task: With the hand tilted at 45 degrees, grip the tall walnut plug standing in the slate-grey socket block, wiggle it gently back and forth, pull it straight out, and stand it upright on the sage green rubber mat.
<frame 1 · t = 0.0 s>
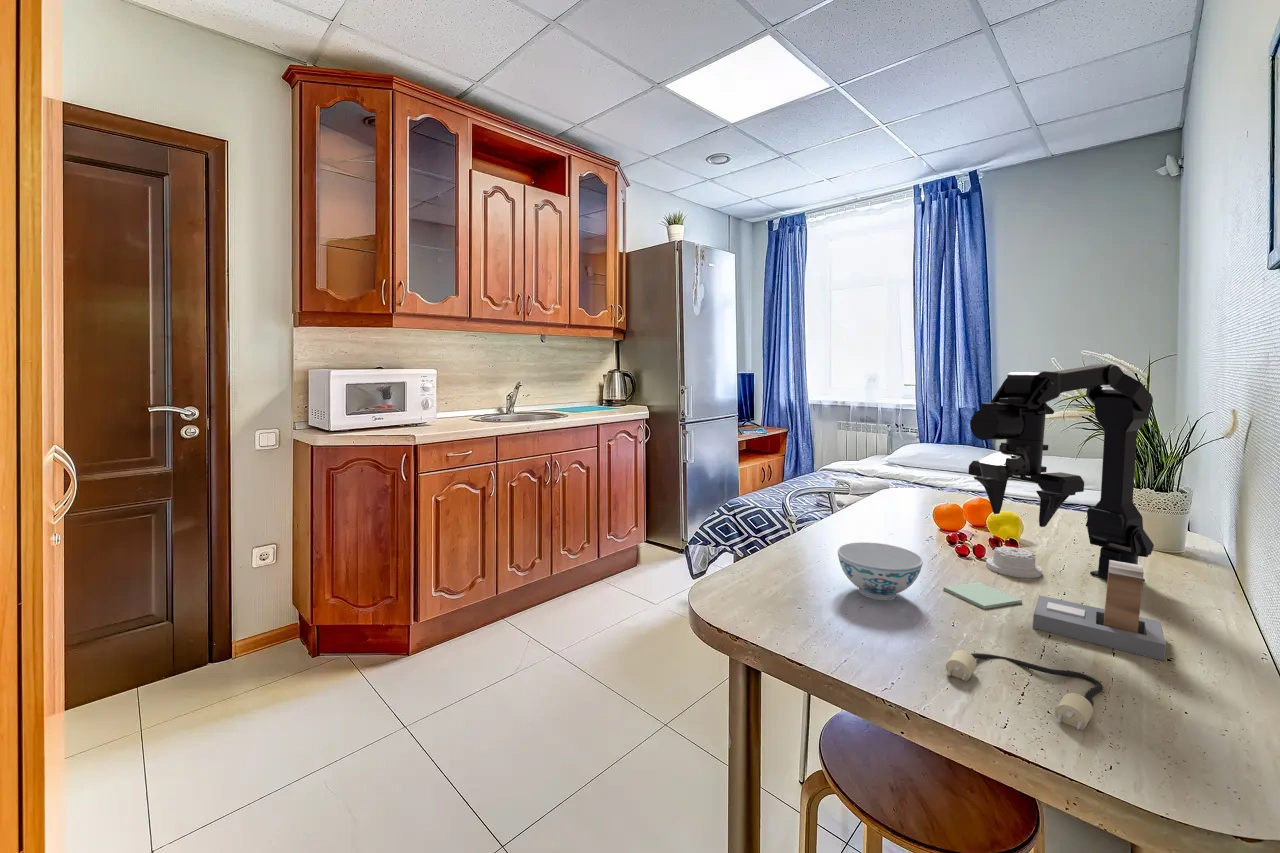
hand: (1018, 520, 104), 15 cm above the table, tool pointing down, fingers open, 9 cm apart
cable: (1021, 686, 76), on the table
socket block: (1094, 631, 90), on the table
plug: (1118, 637, 88), resting in socket block
chinaware: (877, 594, 106), on the table
mat: (981, 596, 104), on the table
mechanical component: (1013, 571, 118), on the table
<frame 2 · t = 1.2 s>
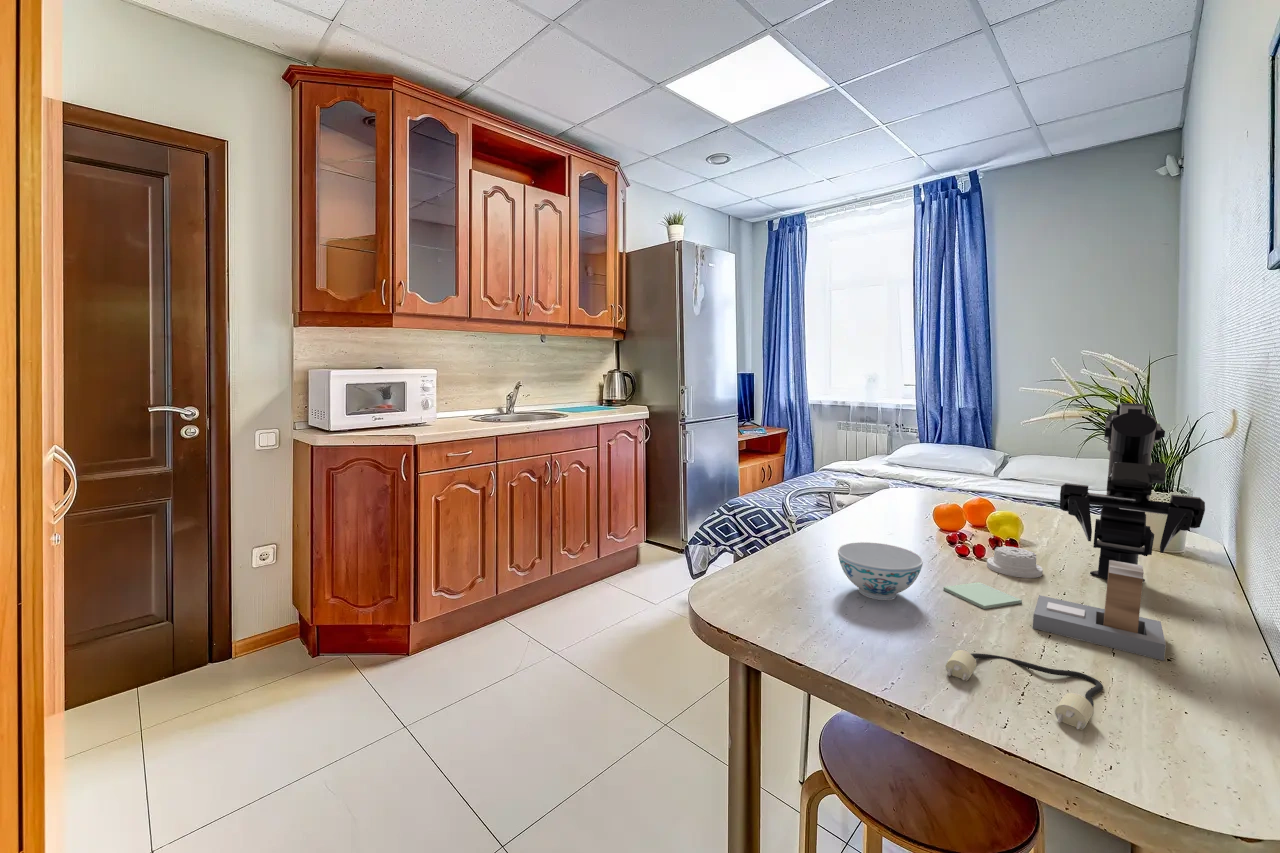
hand: (1124, 545, 93), 13 cm above the table, tool tilted 45°, fingers open, 9 cm apart
nothing on the table moved.
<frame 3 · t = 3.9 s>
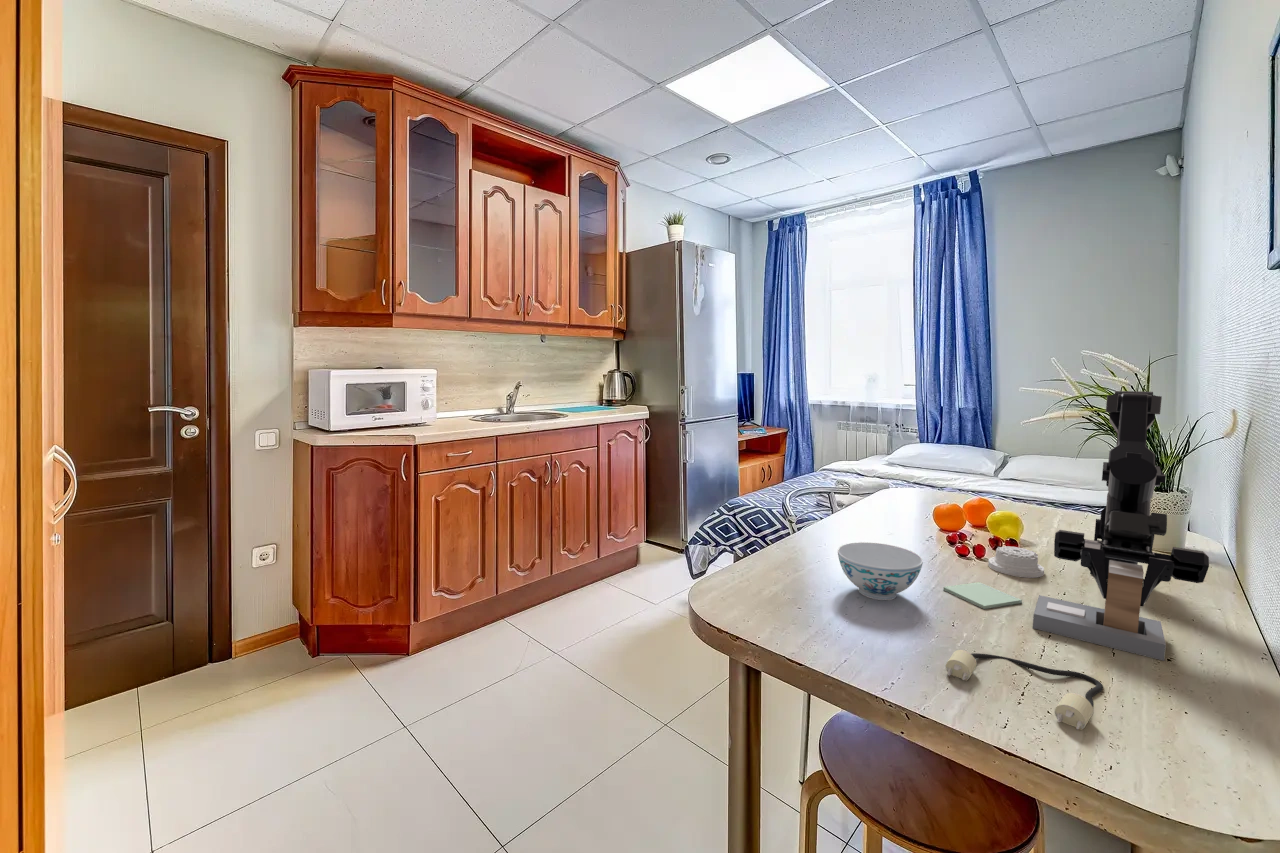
hand: (1122, 601, 87), 7 cm above the table, tool tilted 45°, fingers closed on plug, 4 cm apart
plug: (1118, 637, 88), resting in socket block, touching gripper
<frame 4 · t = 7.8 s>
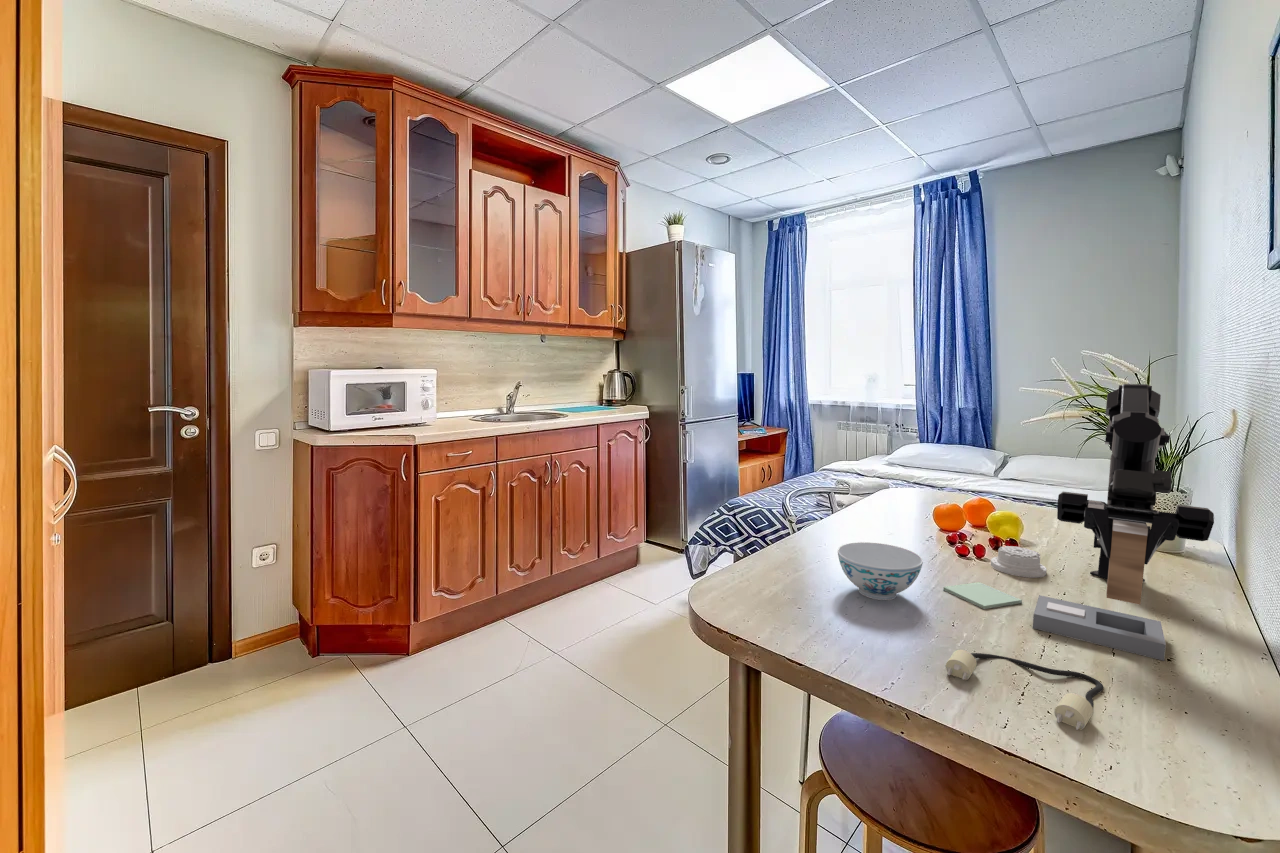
hand: (1126, 559, 86), 13 cm above the table, tool tilted 45°, fingers closed on plug, 4 cm apart
plug: (1122, 597, 88), point 7 cm above the table, touching gripper
when the fingers open (9 cm above the table, at t = 11.9 s): plug drops 1 cm, resting on mat.
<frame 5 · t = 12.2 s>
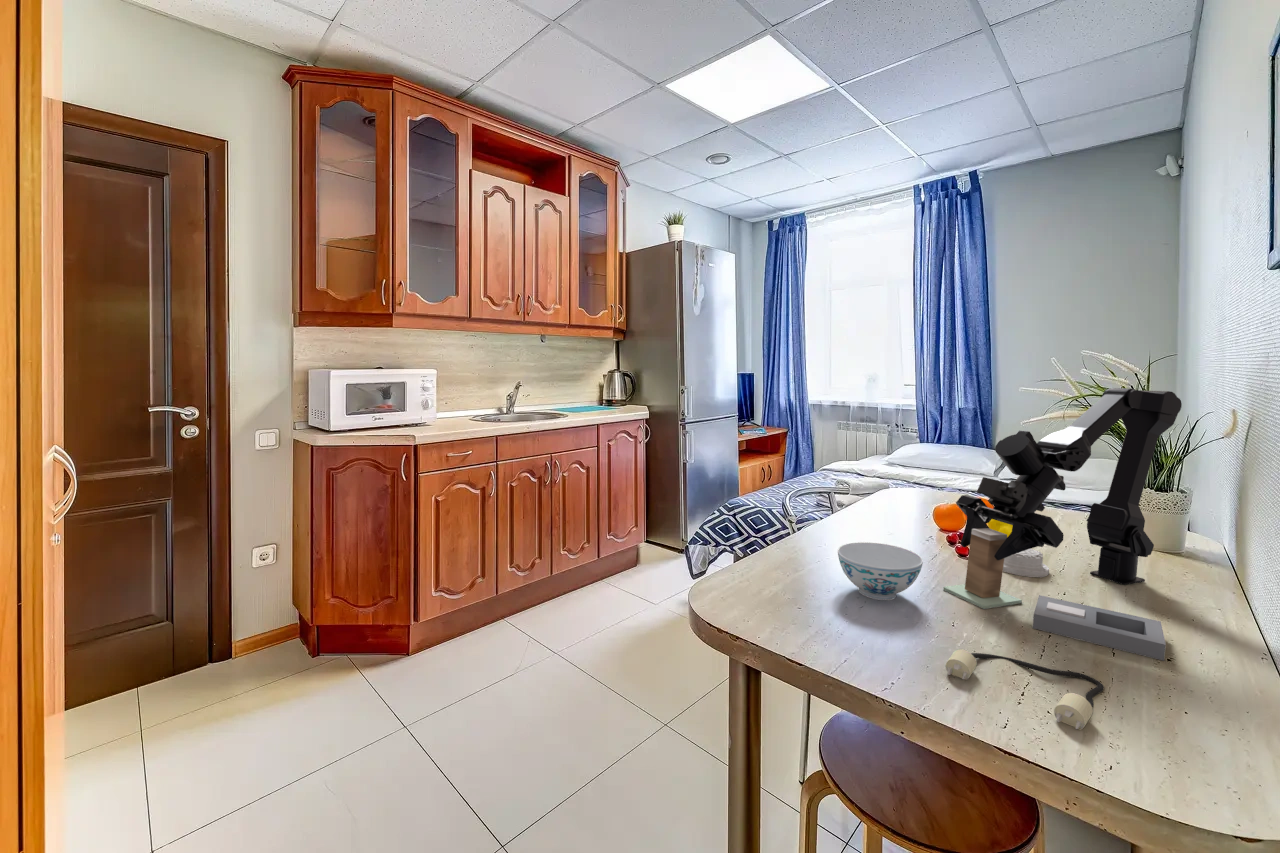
hand: (978, 552, 103), 9 cm above the table, tool tilted 45°, fingers open, 7 cm apart
plug: (981, 592, 104), point 1 cm above the table, touching mat
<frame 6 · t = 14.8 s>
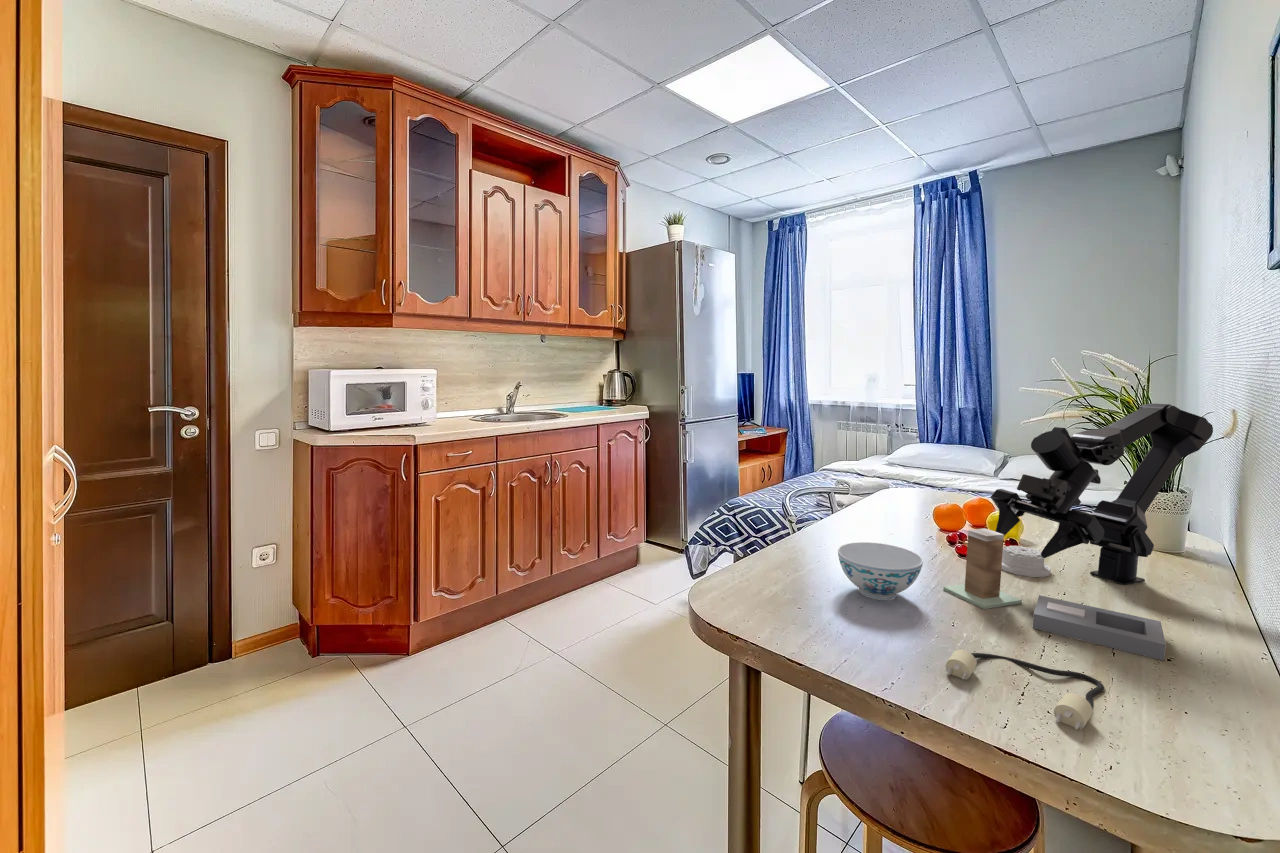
hand: (1018, 547, 105), 9 cm above the table, tool tilted 45°, fingers open, 9 cm apart
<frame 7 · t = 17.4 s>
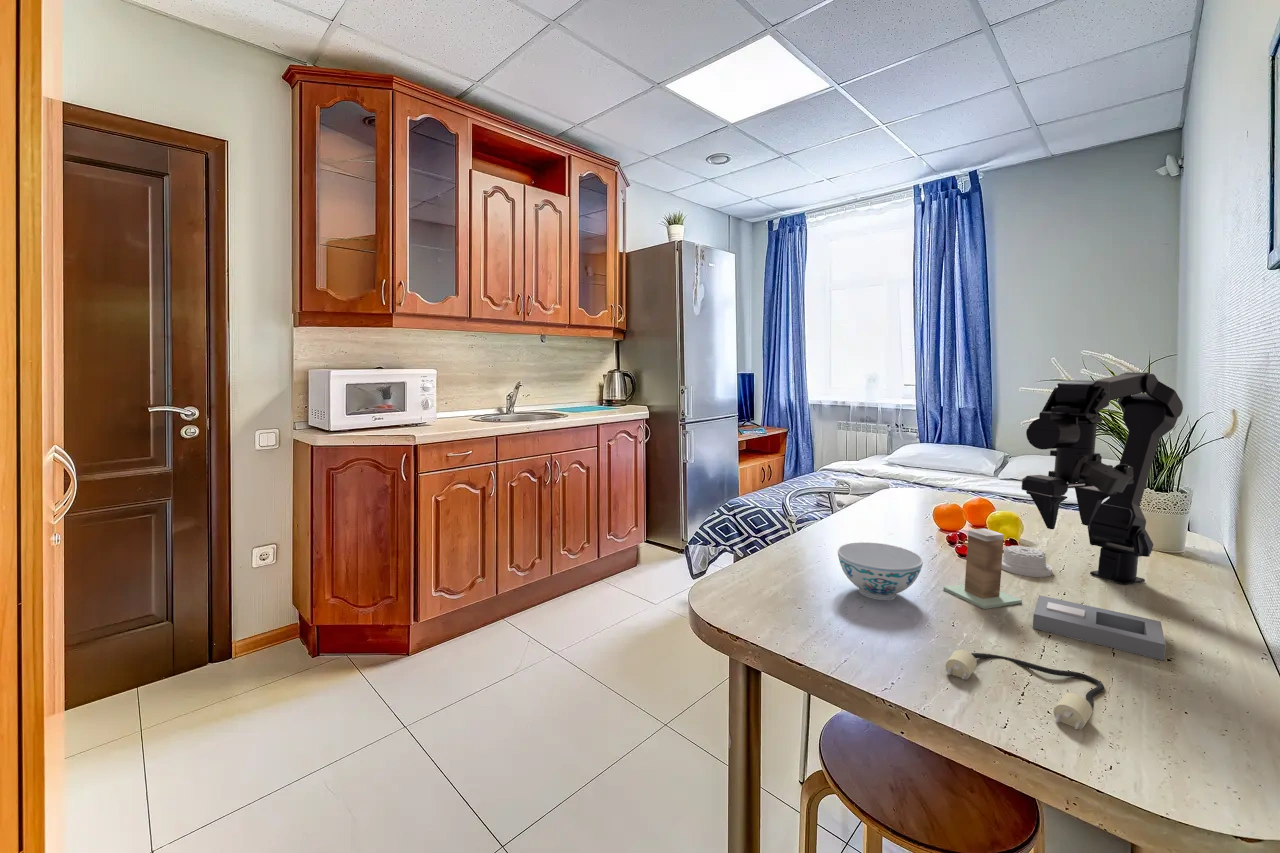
hand: (1068, 527, 105), 13 cm above the table, tool pointing down, fingers open, 9 cm apart
at the end: plug inside the target area on the mat (0.1 cm from its centre), point 0.6 cm above the mat's base; plug tilted 0°; the gripper is holding nothing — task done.
